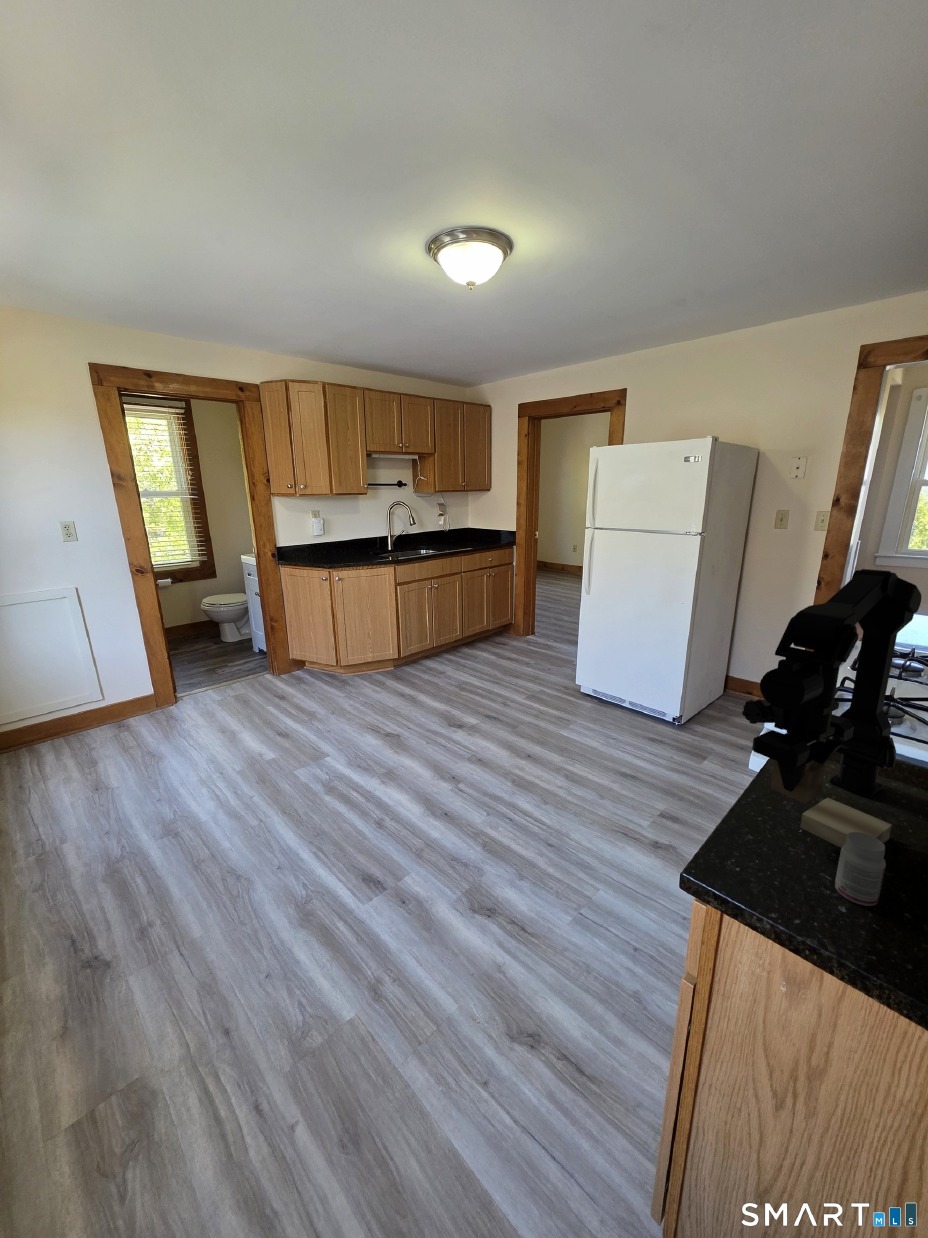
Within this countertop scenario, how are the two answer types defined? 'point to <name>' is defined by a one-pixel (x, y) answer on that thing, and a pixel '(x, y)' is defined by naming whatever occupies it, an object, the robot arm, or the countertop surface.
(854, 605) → the robot arm
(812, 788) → the walnut cube
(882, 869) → the pill bottle
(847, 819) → the maple block
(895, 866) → the countertop surface
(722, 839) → the countertop surface
